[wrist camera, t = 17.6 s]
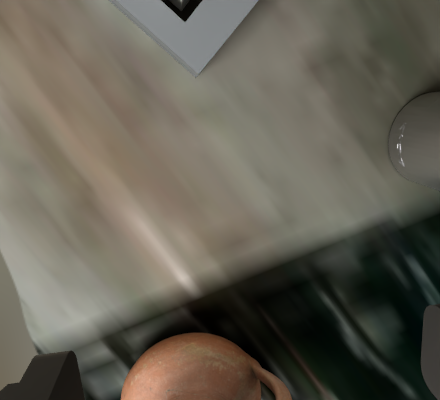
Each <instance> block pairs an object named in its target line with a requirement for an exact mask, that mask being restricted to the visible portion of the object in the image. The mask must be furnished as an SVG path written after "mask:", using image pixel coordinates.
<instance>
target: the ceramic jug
mask: <svg viewBox="0 0 440 400" xmlns="http://www.w3.org/2000/svg"><path fill="white" fill-rule="evenodd" d="M260 381H262V382H263V383H264V384H266V385H267V386H268V388H270V389H271V390H272V391H273V393H274V394H275V396H276V400H292V398H291V395H290V392H289V390H288V388H287V387H286V386H285V384H284V383H283V382H282V381H281V380H280V379H279V378H277V377H276V376H275V375H273V374H272V373H270V372H268V371H266V370H265V369H263V368H262V367H261V366H260V364H259V363H258V361H256V360H255V359H254V358H252V357H251V356H249V355H248V354H247V353H246V352H244V351H243V350H242V349H241V348H240V347H239V346H237V345H236V344H234V343H233V342H231V341H229V340H227V339H225V338H223V337H220V336H217V335H213V334H209V333H185V334H180V335H176V336H172V337H169V338H167V339H164V340H162V341H160V342H158V343H157V344H155V345H153V346H152V347H150V348H149V349H148V350H147V351H146V352H144V353H143V354H142V355H141V356H140V358H139V359H138V360H137V361H136V363H135V364H134V366H133V367H132V368H131V370H130V371H129V373H128V375H127V377H126V379H125V382H124V385H123V388H122V394H121V400H261V385H260Z"/></svg>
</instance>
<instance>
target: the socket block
mask: <svg viewBox="0 0 440 400" xmlns="http://www.w3.org/2000/svg"><path fill="white" fill-rule="evenodd" d="M109 1H110V2H111V3H112V4H114V5H115V6H116V7H117V8H118V9H119V10H120V11H121V12H123V13H124V14H125V15H126V16H127V17H128V18H129V19H130V20H132V21H133V22H134V23H135V24H136V25H137V26H138V27H139V28H141V29H142V30H143V31H144V32H145V33H146V34H147V35H148V36H150V37H151V38H152V39H153V40H154V41H155V42H156V43H157V44H159V45H160V46H161V47H162V48H163V49H164V50H165V51H166V52H168V53H169V54H170V55H171V56H172V57H173V58H174V59H175V60H177V61H178V62H179V63H180V64H181V65H182V66H183V67H184V68H186V69H187V70H188V71H189V72H190V73H191V74H192V75H193V76H195V77H197V75H198V74H199V73H200V72H201V71H202V70H203V68H204V67H205V66H206V65H207V63H208V62H209V61H210V60H211V58H212V57H213V56H214V55H215V53H216V52H217V51H218V50H219V48H220V47H221V46H222V45H223V44H224V42H225V41H226V40H227V39H228V37H229V36H230V35H231V34H232V32H233V31H234V30H235V29H236V27H237V26H238V25H239V24H240V22H241V21H242V20H243V19H244V18H245V16H246V15H247V14H248V13H249V11H250V10H251V9H252V8H253V6H254V5H255V4H256V3H257V1H258V0H202V2H201V3H200V4H199V5H198V7H197V8H196V9H195V11H194V12H193V13H192V14H191V16H190V17H189V18H188V19H187V21H186V22H184V21H183V20H182V19H181V18H180V17H178V16H177V15H176V14H175V13H174V12H173V11H172V10H171V9H170V8H169V7H168V6H167V5H165V4H164V3H163V2H162V1H161V0H109Z"/></svg>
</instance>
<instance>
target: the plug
mask: <svg viewBox="0 0 440 400" xmlns="http://www.w3.org/2000/svg"><path fill="white" fill-rule="evenodd" d="M169 1H170V2H172V3H173V4H174V5H175V6H176V7H177V8H178V9H179V10H180V11H182V10H183V8H184V7H185V6H186V4H187V3H188V2H189V1H190V0H169Z"/></svg>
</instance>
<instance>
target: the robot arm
mask: <svg viewBox="0 0 440 400" xmlns="http://www.w3.org/2000/svg"><path fill="white" fill-rule="evenodd" d="M388 146H389V154H390V158H391V161H392V163H393V165H394V167H395V169H396V170H397V171H398V172H399V173H400V174H401V175H402V176H403V177H405V178H406V179H408V180H410V181H413V182H416V183H419V184H421V185H424V186H427V187H430V188H433V189H435V190H438V191H440V92H430V93H427V94H423V95H420V96H419V97H417V98H415V99H413V100H412V101H410V102H409V103H408V104H407V105H406V106H404V108H403V109H402V110H401V111H400V112H399V114H398V115H397V117H396V119H395V121H394V122H393V124H392V127H391V130H390V134H389V141H388ZM421 369H422V373H423V377H424V380H425V382H426V384H427V386H428V388H429V389H430V391H431V392H432V393H433V395H434V396H435V397H436V398H437V399H438V400H440V304H437V305H430V306H428V307H427V308H426V310H425V312H424V321H423V337H422V352H421ZM0 400H85V398H84V393H83V388H82V383H81V378H80V373H79V368H78V363H77V358H76V355H75V353H74V352H73V351H65V352H58V353H50V354H42V355H36V356H35V357H34V358H33V359H32V361H31V363H30V364H29V366H28V368H27V370H26V372H25V374H24V375H23V377H22V379H21V381H20V382H19V383H14V384H8V385H7V386H5V387H4V388H3V389H2V390H1V391H0Z"/></svg>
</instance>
